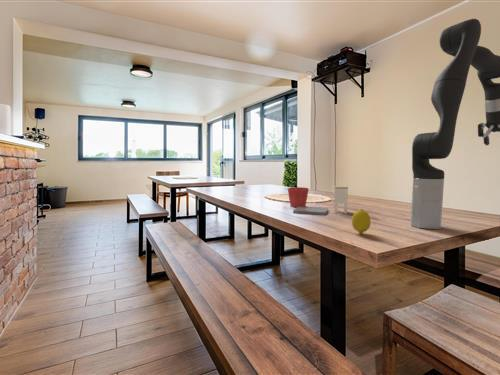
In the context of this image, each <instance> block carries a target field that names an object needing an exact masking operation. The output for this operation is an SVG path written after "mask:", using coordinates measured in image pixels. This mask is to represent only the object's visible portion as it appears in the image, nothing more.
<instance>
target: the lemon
mask: <svg viewBox="0 0 500 375" xmlns="http://www.w3.org/2000/svg"><path fill="white" fill-rule="evenodd" d="M371 223H372V222H371V217H370V215H369V213H368V212H367V211H365V210H364V209H363V208H360V209H359V210H357V211H355V212H354V213H353V214H352V217H351V226H352V228H353V229H354V230H355V231H356V232H358V233H359V235H361V234H363V233H364V232H367V231H368V230H369V229H370V227H371Z"/></svg>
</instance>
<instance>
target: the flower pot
mask: <svg viewBox="0 0 500 375" xmlns="http://www.w3.org/2000/svg"><path fill="white" fill-rule="evenodd" d="M309 189H310V188H309V187H301V186H299V187H292V186H291V187H288V188H287V191H288V192H287V193H288V200H289V204H290V207H292V208H297V207H298V206H306V205H307V202H308V201H307V200H308V195H309Z"/></svg>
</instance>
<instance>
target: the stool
mask: <svg viewBox="0 0 500 375" xmlns="http://www.w3.org/2000/svg"><path fill="white" fill-rule="evenodd" d="M348 193H349V186H348V185H334V200H333V201H334V203H333V205H334V206H333V209H334V210H333V213H338V210H339V209H338V208H339V205H338V204H343V214H348Z"/></svg>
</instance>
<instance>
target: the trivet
mask: <svg viewBox="0 0 500 375" xmlns="http://www.w3.org/2000/svg"><path fill="white" fill-rule="evenodd" d="M328 211H329V208H328V207H321V206H298V207H295V208H294V209H293V212H292V213H293V214H303V215H315V216H316V215H318V216H325V215H326V214H327V212H328Z"/></svg>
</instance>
